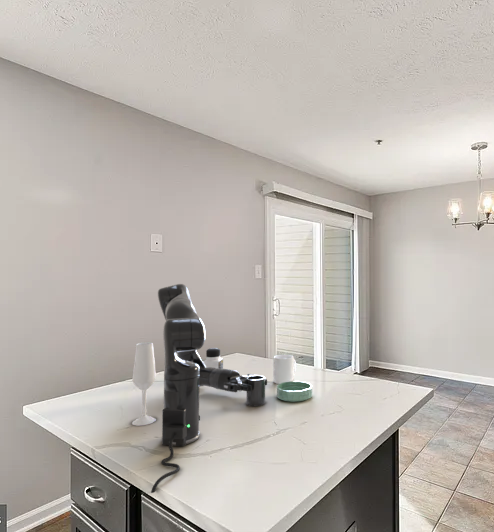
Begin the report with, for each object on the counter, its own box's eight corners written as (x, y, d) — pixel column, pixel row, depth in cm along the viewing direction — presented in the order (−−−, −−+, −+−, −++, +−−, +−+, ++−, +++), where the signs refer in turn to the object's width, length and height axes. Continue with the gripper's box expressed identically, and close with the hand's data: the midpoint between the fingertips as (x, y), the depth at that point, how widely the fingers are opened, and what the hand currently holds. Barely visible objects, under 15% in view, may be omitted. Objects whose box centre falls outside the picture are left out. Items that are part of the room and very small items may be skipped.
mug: (303, 379, 163) (303, 355, 163) (283, 386, 154) (283, 359, 154) (289, 376, 169) (289, 352, 169) (269, 382, 160) (269, 356, 160)
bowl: (308, 403, 133) (308, 392, 133) (272, 401, 135) (272, 390, 135) (315, 392, 146) (315, 381, 146) (281, 390, 148) (281, 380, 148)
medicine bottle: (218, 377, 167) (218, 350, 168) (202, 377, 167) (202, 350, 168) (223, 373, 174) (223, 347, 175) (207, 373, 174) (207, 347, 175)
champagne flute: (143, 426, 113) (144, 346, 113) (126, 423, 115) (127, 344, 116) (160, 418, 119) (161, 342, 120) (144, 416, 122) (144, 341, 122)
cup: (261, 406, 130) (261, 380, 130) (243, 405, 131) (243, 379, 131) (267, 400, 136) (267, 375, 136) (250, 399, 137) (250, 375, 137)
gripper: (210, 373, 135) (246, 379, 127) (237, 365, 147) (271, 370, 139) (210, 394, 134) (246, 402, 127) (237, 384, 147) (271, 390, 139)
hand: (259, 385), depth 133 cm, fingers open, 8 cm apart
